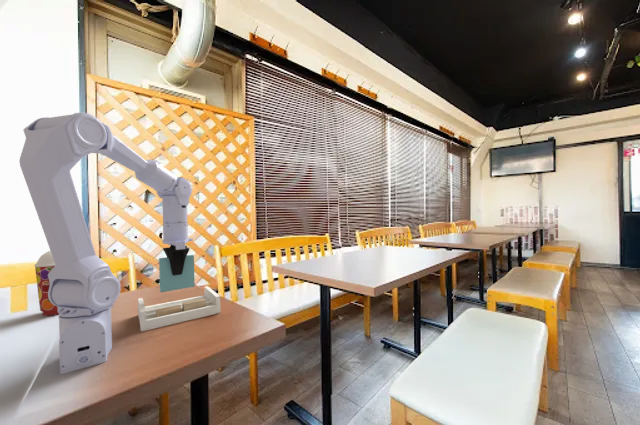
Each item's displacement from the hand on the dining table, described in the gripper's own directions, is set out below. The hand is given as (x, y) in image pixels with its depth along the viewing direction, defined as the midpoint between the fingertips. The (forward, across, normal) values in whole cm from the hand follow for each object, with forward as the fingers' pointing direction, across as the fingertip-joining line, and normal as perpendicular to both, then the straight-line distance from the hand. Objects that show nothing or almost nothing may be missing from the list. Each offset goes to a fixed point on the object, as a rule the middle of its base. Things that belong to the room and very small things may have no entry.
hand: (176, 274), depth 71 cm
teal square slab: (+4, 0, 0) cm, 4 cm away
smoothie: (+11, +23, +26) cm, 36 cm away
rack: (+10, -3, 0) cm, 11 cm away
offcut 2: (+10, -6, -3) cm, 12 cm away
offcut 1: (+10, -6, +3) cm, 12 cm away
